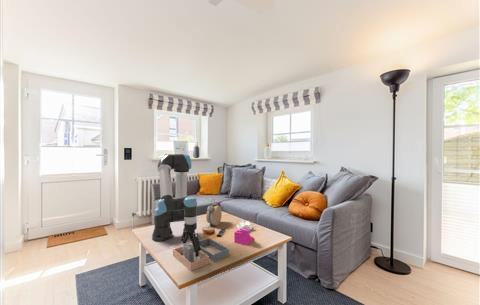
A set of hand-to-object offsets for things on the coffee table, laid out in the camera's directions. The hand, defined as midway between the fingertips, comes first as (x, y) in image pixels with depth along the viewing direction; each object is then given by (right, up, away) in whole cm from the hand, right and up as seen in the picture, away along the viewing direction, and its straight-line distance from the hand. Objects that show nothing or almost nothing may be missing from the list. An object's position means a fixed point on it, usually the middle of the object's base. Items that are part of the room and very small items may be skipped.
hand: (190, 257), depth 130 cm
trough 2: (+11, -1, +10) cm, 15 cm away
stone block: (0, -1, 0) cm, 1 cm away
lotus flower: (+34, -2, +49) cm, 59 cm away
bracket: (+34, -2, +27) cm, 43 cm away
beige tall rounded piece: (+7, -1, +61) cm, 62 cm away
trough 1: (0, -1, 0) cm, 1 cm away
